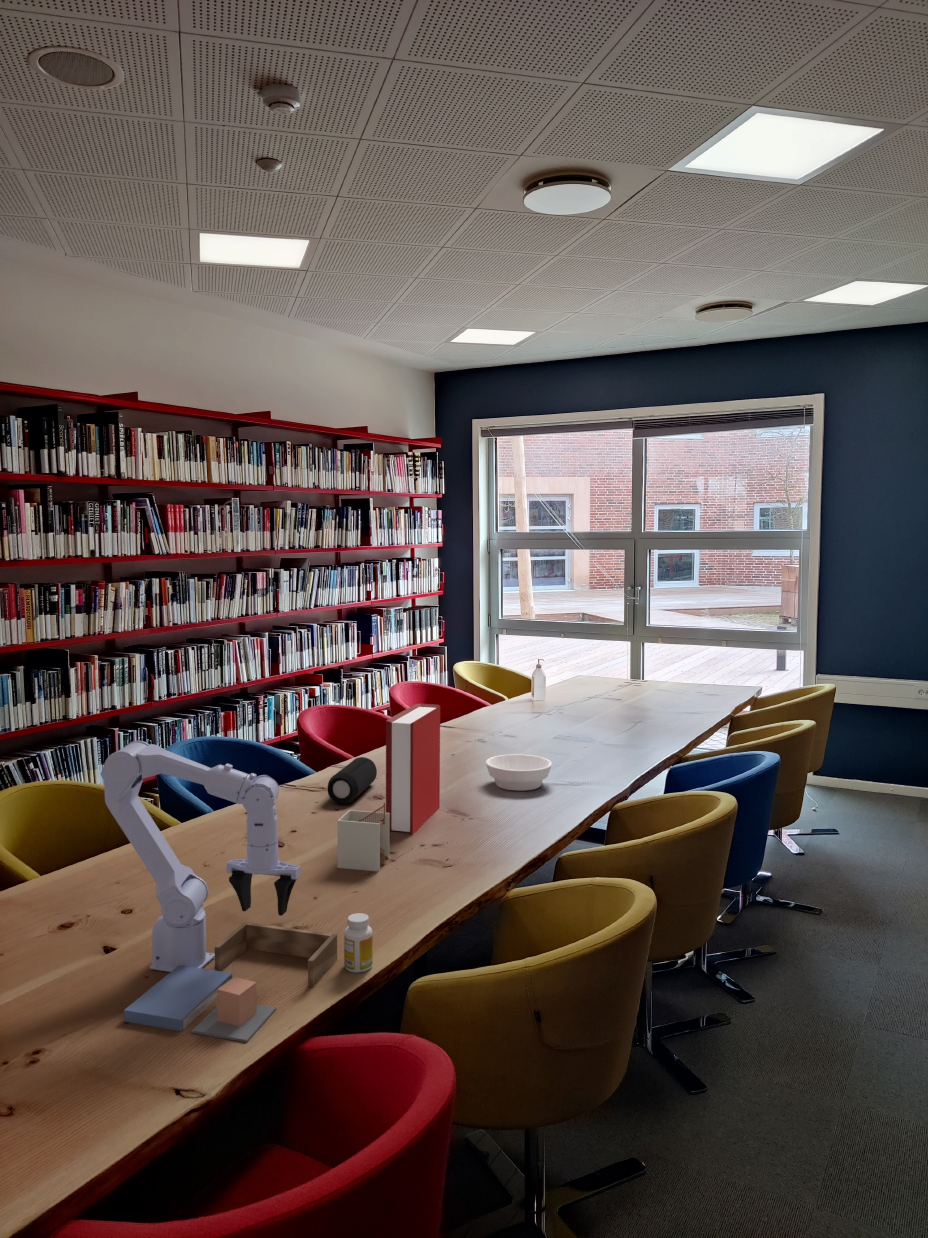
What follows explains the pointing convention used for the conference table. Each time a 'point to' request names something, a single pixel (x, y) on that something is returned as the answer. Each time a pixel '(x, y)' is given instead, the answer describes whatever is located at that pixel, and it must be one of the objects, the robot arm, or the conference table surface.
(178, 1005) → the navy book
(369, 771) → the portable speaker
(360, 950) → the supplement bottle
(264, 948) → the walnut u-shaped open frame
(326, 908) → the conference table surface
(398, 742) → the book
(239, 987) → the terracotta block
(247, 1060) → the conference table surface
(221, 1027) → the felt mat
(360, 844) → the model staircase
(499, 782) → the bowl
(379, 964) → the conference table surface
